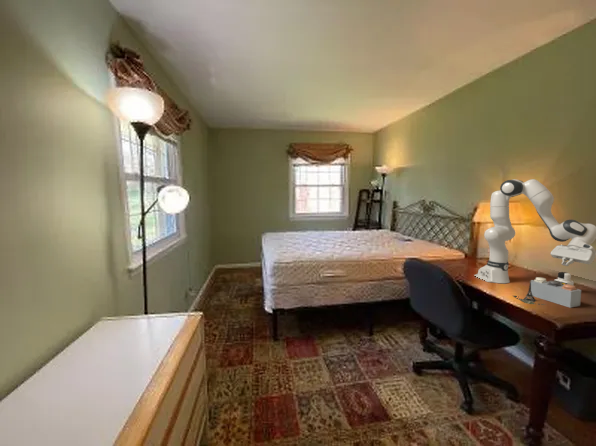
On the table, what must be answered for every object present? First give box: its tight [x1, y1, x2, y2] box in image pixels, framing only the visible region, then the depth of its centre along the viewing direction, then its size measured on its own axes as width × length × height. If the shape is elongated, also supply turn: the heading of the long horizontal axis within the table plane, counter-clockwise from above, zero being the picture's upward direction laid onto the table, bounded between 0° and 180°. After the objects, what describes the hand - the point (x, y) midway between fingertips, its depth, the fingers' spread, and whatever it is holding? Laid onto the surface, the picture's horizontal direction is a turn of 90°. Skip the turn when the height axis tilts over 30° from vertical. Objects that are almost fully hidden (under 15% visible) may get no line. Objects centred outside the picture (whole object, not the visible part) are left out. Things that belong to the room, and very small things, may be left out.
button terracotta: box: [562, 284, 577, 291], centre depth 170 cm, size 5×5×8 cm
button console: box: [529, 279, 582, 309], centre depth 178 cm, size 22×8×9 cm, turn 17°
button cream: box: [533, 276, 548, 283], centre depth 184 cm, size 5×5×8 cm
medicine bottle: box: [553, 271, 575, 286], centre depth 192 cm, size 7×7×12 cm
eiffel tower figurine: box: [513, 279, 546, 306], centre depth 178 cm, size 15×10×13 cm
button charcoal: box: [547, 280, 561, 287], centre depth 177 cm, size 5×5×8 cm
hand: (564, 265), depth 178 cm, fingers closed
